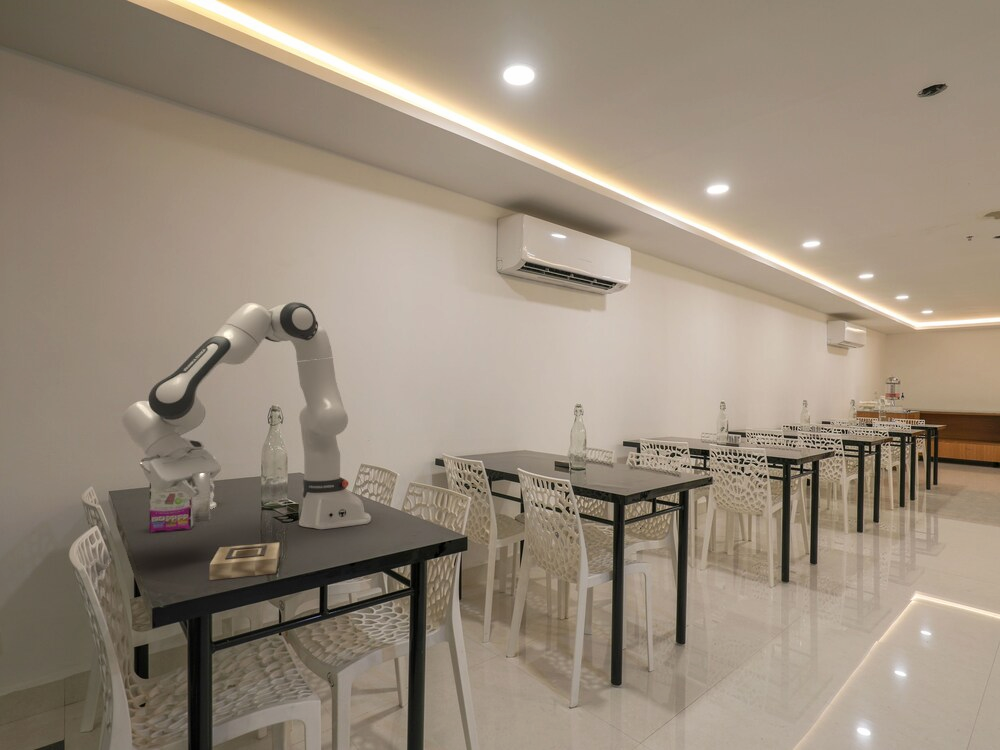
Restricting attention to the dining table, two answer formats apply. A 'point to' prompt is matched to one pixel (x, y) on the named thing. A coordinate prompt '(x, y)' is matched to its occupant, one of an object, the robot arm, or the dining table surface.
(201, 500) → the aluminium pin
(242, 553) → the socket block
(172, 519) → the candy bar box
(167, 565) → the dining table surface
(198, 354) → the robot arm
